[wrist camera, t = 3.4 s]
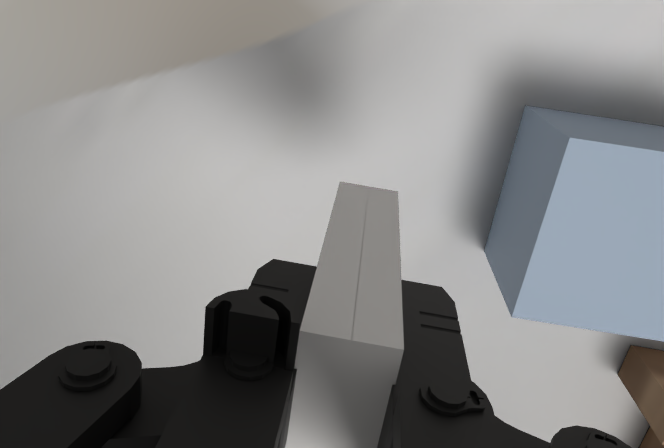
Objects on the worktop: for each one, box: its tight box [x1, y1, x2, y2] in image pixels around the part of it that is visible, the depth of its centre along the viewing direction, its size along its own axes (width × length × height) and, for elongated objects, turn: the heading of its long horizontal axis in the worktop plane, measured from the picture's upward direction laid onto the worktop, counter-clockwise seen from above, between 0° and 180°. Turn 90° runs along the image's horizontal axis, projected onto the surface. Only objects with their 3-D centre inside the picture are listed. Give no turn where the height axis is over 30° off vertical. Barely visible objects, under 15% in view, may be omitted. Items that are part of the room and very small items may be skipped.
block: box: [484, 105, 664, 342], centre depth 18 cm, size 6×6×5 cm
